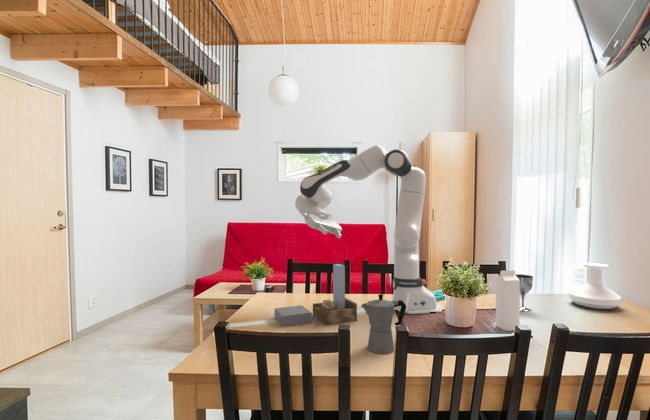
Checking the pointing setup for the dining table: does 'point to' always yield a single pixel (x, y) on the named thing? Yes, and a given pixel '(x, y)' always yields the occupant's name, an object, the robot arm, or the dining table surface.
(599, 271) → the candle holder
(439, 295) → the alien figure
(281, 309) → the stand
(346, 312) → the brown wooden box
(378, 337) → the coffeepot
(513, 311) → the milk
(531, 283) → the wine glass
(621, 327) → the dining table surface
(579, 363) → the dining table surface
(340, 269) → the panel
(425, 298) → the robot arm
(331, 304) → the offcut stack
